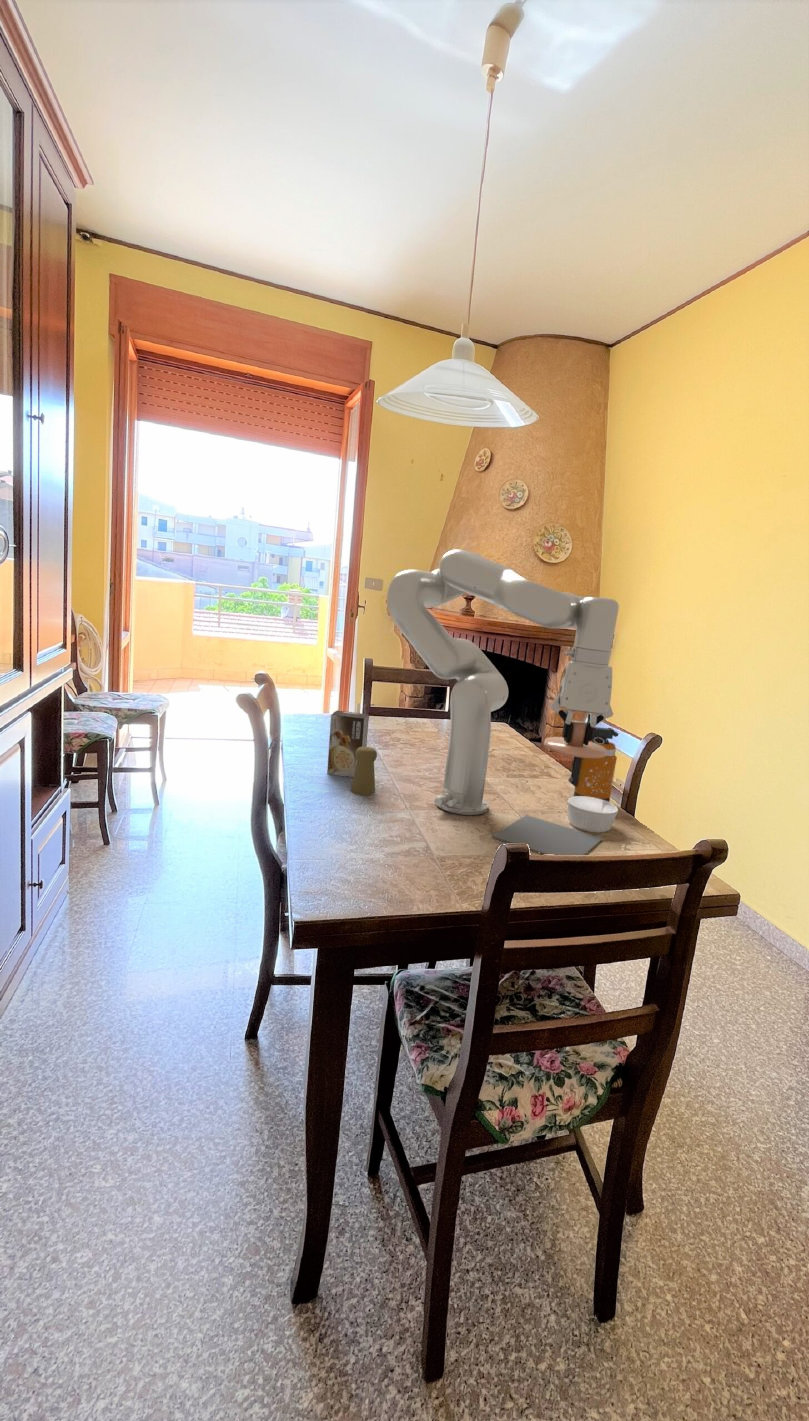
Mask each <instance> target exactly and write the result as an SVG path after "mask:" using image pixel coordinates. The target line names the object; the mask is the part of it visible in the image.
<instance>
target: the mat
mask: <svg viewBox="0 0 809 1421" xmlns="http://www.w3.org/2000/svg"><path fill="white" fill-rule="evenodd" d="M491 838H492V839H495V840H499V841H501V842H504V843H507V844H510V843H525V844H528V845H529V848H530V850H529V851H532V852H533V853H538V852H540V853H538V854H540V855H543V854H554V855H585V856H586V855H587V854H588V853H590V850H591V849H592V850H593V849H594V848H595V847H596V846H597V845H599V844H600V843H601V842H602V841H603V839H604V838H603V837H600V836H596V835H594V834H590V833H587V832H585V831H580V830H579V829H578V830H577V829H574V828H570V827H567V826H564V825H560V824H558V823H554V822H550V821H547V820H544V819H540V818H538V817H535V816H530V815H527V814H526V815H524V816H522V817H521V818H519V819H517V820H515V821H514V822H512V823H510V824H509V825H507V826H505V827H504V828H502V829H500V830H499V831H497V832H495V833H493V834H492V835H491ZM600 841H601V842H600ZM592 850H591V851H592ZM587 852H588V853H587Z"/></svg>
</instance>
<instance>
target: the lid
mask: <svg viewBox="0 0 809 1421" xmlns="http://www.w3.org/2000/svg"><path fill="white" fill-rule="evenodd" d="M586 722H587V721H586ZM586 722H585V721H581V720H576V719H575V720H573V719H572V725H573V729H572V735H571V741H570V743H566V742H565V741H564V738H563V737H562V736H549V737H546V738H545V739H544V743H543V746H544V747H546V749H548V750H550V751H553V752H555V753H559V754H561V755H564V756H570V757H573V758H574V757H581V758H603V757H605V756H606V753H607V749H606V748H604V747H603V746H601V745H598V744H595V743H592V742H589V743H588V745H585V744H584V739H585V733H586V728H587V723H586Z"/></svg>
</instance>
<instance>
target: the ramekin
mask: <svg viewBox="0 0 809 1421" xmlns="http://www.w3.org/2000/svg"><path fill="white" fill-rule="evenodd" d="M566 803H567V813H568V814H567V818H568V821H569V823H570V824H571V825H572V826H573V827H575V828H577V829H578V830H582V831H583V832H589V833H590V832H591V833H597V834H599V833H600V834H601V832H602V833H606V831H607V832H608V831H609V830H611V829H612V827H613V825H614V822H615V819H616V817H617V815H618V814H619V809H618V807H617V806H616V805H615V804H613V803H612V802H610V801H609V802H607V801H605V800H602V799H598V798H594V797H587V796H574V795H573V796H571V797H568V799H567V802H566Z"/></svg>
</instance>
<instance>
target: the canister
mask: <svg viewBox="0 0 809 1421" xmlns="http://www.w3.org/2000/svg"><path fill="white" fill-rule="evenodd" d="M618 736H619V733H618V732H617V731H615V729H613V728H612V727H608V728H607V727H606V728H605V727H598V726H597V727H596V726H595V727H593V733H592V738H591V741H589V742H592V743H595V744H598V745H601V746H603V747H604V748H606V749H607V753H606V756H605V757H603V758H581V757H574V756H573V762H572V767H571V773H570V774H571V775H570V777H569V778H568V780H567V781H568V782H569V784H571V785H572V786H574V791H573V797H574V796H587V797H594V798H598V799H602V800H605V801H607V802H610V800H611V795H612V788H613V782H614V777H615V771H616V765H617V760H618V759H617V758H618V757H617V756H616V750H617V747H616V744H615V743H613V742H611V741H609V739H610V740H613V737H618Z"/></svg>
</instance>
